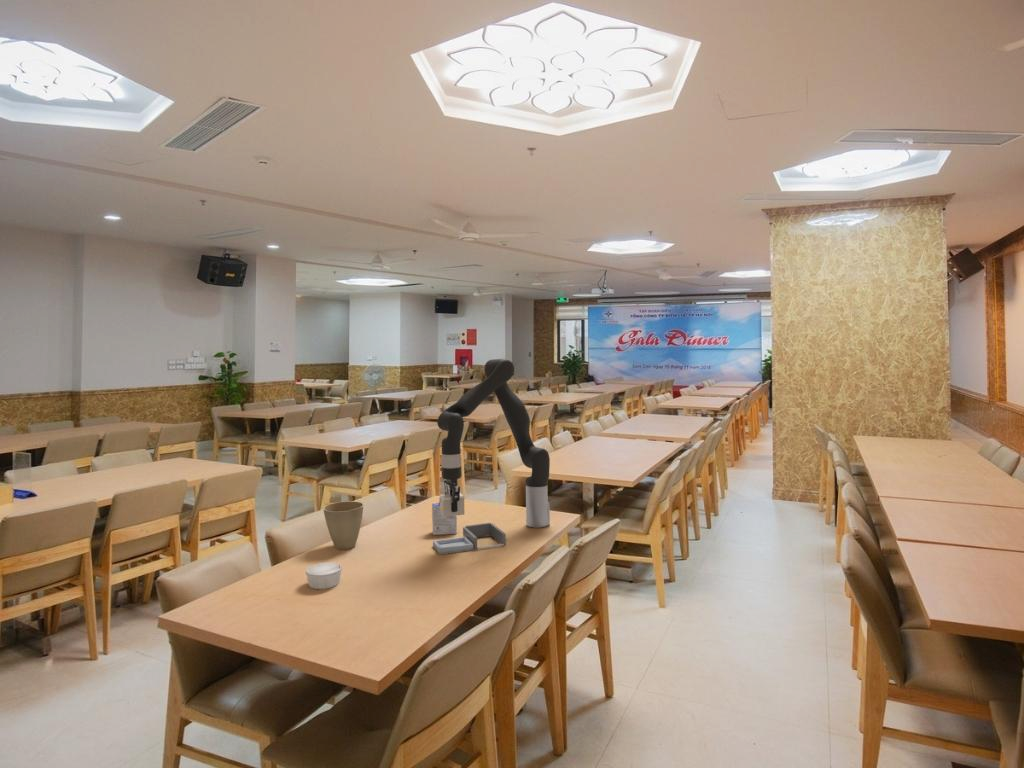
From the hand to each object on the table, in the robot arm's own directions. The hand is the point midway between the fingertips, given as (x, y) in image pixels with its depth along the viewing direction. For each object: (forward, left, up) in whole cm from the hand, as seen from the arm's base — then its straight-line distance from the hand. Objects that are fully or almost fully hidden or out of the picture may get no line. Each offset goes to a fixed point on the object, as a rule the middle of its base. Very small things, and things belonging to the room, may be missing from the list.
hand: (452, 509), depth 222 cm
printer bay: (-13, -1, -15) cm, 20 cm away
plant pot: (+38, -19, -15) cm, 45 cm away
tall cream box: (0, 0, -2) cm, 2 cm away
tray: (0, 0, -15) cm, 15 cm away
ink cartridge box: (-2, -20, -15) cm, 25 cm away
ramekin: (+48, +16, -15) cm, 53 cm away
